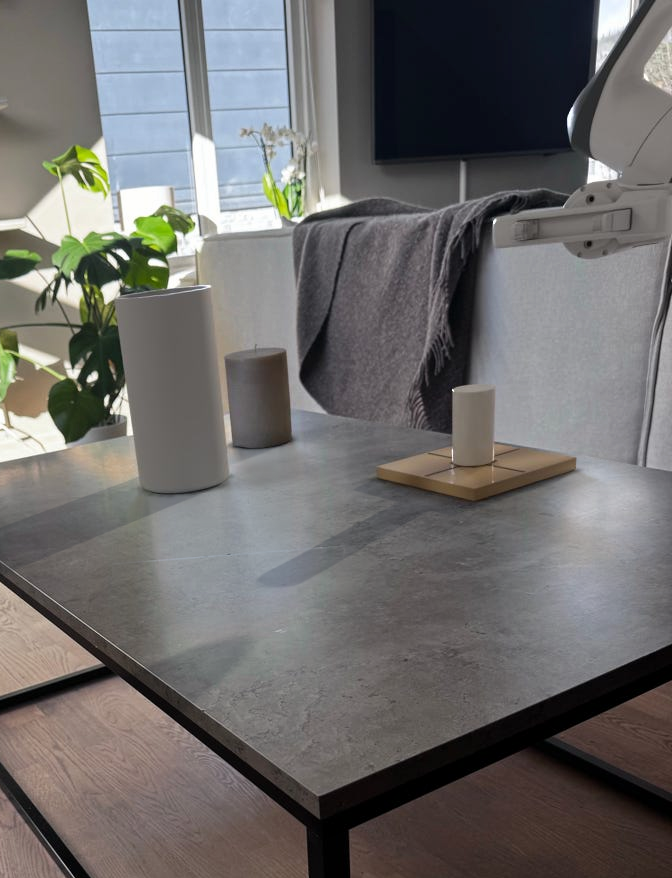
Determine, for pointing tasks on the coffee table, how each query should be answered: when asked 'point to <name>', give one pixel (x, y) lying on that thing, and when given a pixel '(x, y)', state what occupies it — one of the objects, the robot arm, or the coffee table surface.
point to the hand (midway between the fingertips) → (556, 228)
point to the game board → (476, 471)
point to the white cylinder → (473, 424)
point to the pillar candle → (259, 397)
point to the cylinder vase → (173, 388)
